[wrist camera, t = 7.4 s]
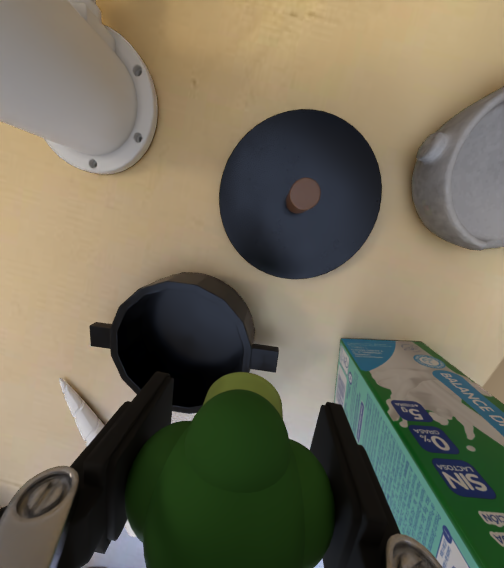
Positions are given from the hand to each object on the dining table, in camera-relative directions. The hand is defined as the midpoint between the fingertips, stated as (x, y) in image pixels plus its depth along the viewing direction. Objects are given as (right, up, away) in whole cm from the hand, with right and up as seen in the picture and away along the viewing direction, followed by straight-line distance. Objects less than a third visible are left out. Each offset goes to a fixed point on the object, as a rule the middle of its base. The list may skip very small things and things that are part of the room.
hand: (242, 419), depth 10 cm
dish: (+22, +16, +13) cm, 30 cm away
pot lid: (+5, +14, +14) cm, 20 cm away
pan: (-7, 0, +19) cm, 20 cm away
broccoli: (0, 0, +1) cm, 1 cm away
